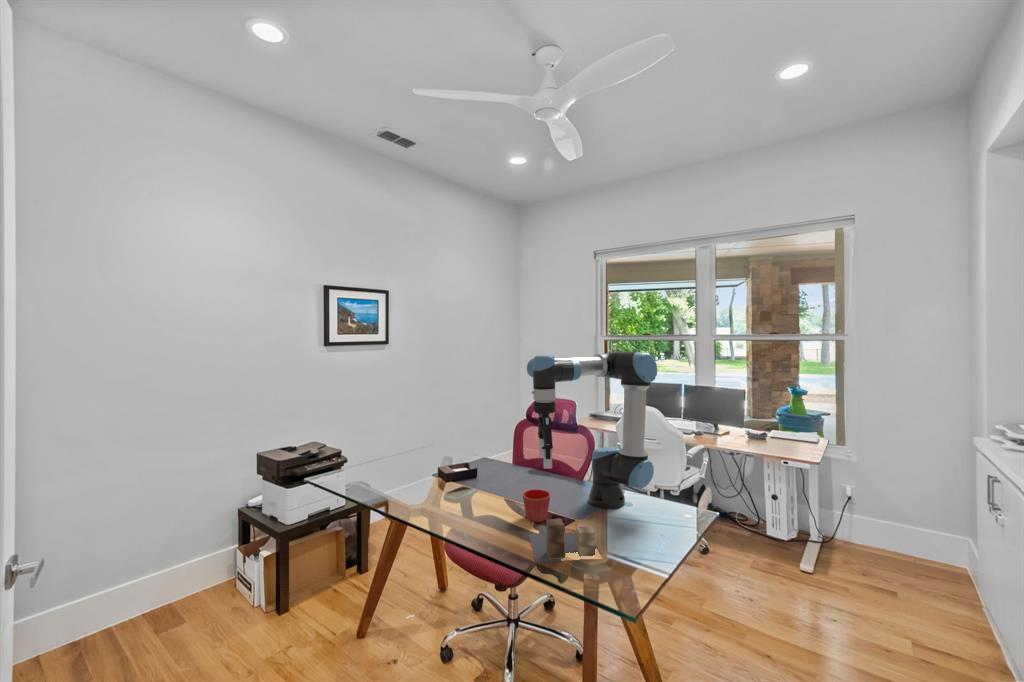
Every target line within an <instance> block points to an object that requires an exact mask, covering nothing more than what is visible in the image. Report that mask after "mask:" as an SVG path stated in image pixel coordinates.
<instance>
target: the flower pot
mask: <svg viewBox="0 0 1024 682" xmlns="http://www.w3.org/2000/svg"><path fill="white" fill-rule="evenodd" d="M522 501H523V505H524V511H525V515H526V519H527V520H528V521H530V522H534V523H540V522H544V521H545V520H546V519H548V518H547V517H548V513H549V507H550V501H551V493H550V492H549V491H547V490H544V489H529V490H525V491H523V493H522Z"/></svg>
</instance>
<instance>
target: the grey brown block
mask: <svg viewBox="0 0 1024 682" xmlns="http://www.w3.org/2000/svg"><path fill="white" fill-rule="evenodd" d="M545 522H546V523H545V524H546V534H547V554H548V557H549V560H550V559H563V558H565V548H564V533H565V523H564V522H563V518H546V521H545Z"/></svg>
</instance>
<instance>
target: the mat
mask: <svg viewBox="0 0 1024 682" xmlns="http://www.w3.org/2000/svg"><path fill="white" fill-rule="evenodd" d="M528 537H529V541H530V545H531V548H532V553H533V557H534V560H535V564H541V563H558V562H562V561H561V559H550V560H549V557H548V554H547V533H536V534H534V533H533V534H528ZM564 548H565V553H569V552H570V553H574V552H575V553H576V552H577V550H576V531H572V532H564ZM596 548H597V549H599V547H598V545H597V544H596V543H595V549H596Z"/></svg>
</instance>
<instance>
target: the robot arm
mask: <svg viewBox="0 0 1024 682" xmlns="http://www.w3.org/2000/svg"><path fill="white" fill-rule="evenodd" d="M526 372H527V374H528V376H529V377H531V378H532V382H533V383H532V385H533V386H532V387H533V391H531V395H533V400H534V401H533V404H532V405H533V412H534V413H535V414H538V417H537V419H538V429H537V430H538V431H537V435H538V437H537V438H538V457H539V458H543V469H545V470H546V469H553V448H554V445H553V433H552V431H553V430H552V417H550V414H555V413H556V401H555V400H556V383H561V382H573V381H577V380H579V379H580V378H581V377H582V376H583V377H584V376H595V377H598V378H602V377H603V378H610V379H615V380H620V386H621V387H622V388H623V389H624V391H623V394H624V395H623V417H622V418H623V419H622V420H623V421H622V422H623V423H622V424H623V425H622V445H621V446H622V447H621V448H619V447H616V446H608V447H607V446H606V447H599V448H595V449H593V451H592V458H591V462H592V463H591V466H592V467H591V468H592V472H591V473H592V484H591V489H590V490H589V495H588V502H589V504H590V505H592V506H594V507H597V508H601V509H618V508H621V507H623V506H624V505H625V503H626V497H625V495H624V492H623V489H622V485H625V486H626V487H627V486H628V487H630V488H635V489H638V490H640V489H644V488H646V487H647V486H649V484H650V483H651V481H652V479H653V477H654V472H655V471H654V470H655V469H654V465H653V462H652V461H650V460H649V453H648V452H647V451H646V450H645V440H646V438H645V437H646V412H647V411H646V410H647V390H648V389H649V388H650V387H651V383H653V382H654V381H655V380H656V377H657V374H658V365H657V362H656V359H654V356H653V355H651V354H650V353H647V352H641V351H636V352H635V351H614V352H613V351H612V352H608V353H596V354H594V355H593V356H580V357H576V356H575V357H555V356H553V355H536V356H534V357H533V358H531V359H530V360H529V361H528V362H527V365H526Z"/></svg>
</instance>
